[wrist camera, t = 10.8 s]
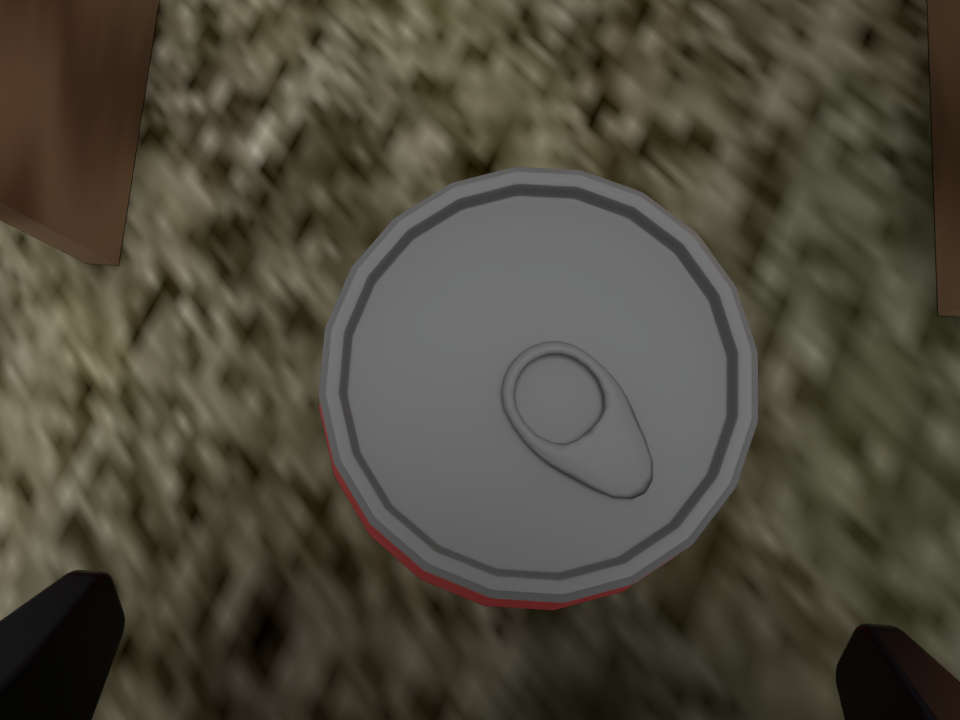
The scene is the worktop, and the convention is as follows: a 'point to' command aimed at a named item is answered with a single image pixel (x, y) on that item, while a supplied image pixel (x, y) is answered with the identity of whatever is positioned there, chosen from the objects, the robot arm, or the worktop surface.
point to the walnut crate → (119, 101)
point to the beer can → (537, 388)
